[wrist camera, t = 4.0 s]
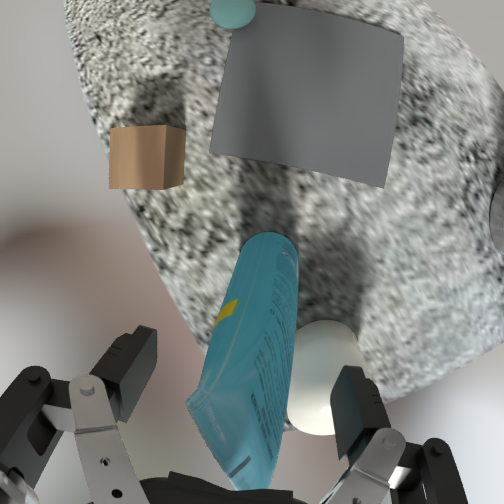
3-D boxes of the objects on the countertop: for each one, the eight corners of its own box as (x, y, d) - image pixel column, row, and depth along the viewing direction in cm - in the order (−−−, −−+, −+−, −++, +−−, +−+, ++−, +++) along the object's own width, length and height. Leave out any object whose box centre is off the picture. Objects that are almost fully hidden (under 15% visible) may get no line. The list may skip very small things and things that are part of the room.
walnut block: (166, 124, 18) (111, 128, 18) (163, 189, 19) (109, 188, 19) (186, 130, 22) (137, 131, 22) (183, 183, 23) (135, 182, 24)
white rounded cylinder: (366, 324, 26) (391, 378, 18) (344, 379, 28) (357, 435, 20) (295, 314, 26) (300, 371, 18) (279, 372, 28) (278, 431, 21)
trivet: (401, 38, 17) (404, 36, 17) (381, 187, 22) (383, 188, 21) (241, 4, 18) (240, 0, 17) (210, 153, 22) (209, 152, 22)
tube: (227, 227, 24) (101, 405, 6) (284, 210, 23) (295, 389, 5) (255, 305, 26) (214, 517, 8) (308, 292, 25) (337, 510, 7)
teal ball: (260, 4, 17) (257, -16, 14) (253, 37, 18) (249, 18, 15) (219, 2, 17) (210, -18, 14) (211, 34, 19) (200, 16, 15)
